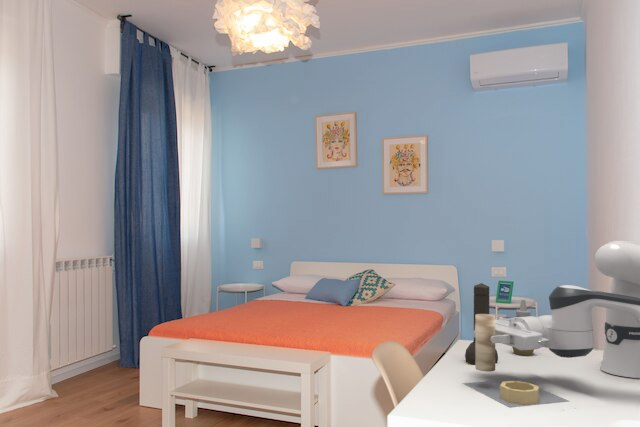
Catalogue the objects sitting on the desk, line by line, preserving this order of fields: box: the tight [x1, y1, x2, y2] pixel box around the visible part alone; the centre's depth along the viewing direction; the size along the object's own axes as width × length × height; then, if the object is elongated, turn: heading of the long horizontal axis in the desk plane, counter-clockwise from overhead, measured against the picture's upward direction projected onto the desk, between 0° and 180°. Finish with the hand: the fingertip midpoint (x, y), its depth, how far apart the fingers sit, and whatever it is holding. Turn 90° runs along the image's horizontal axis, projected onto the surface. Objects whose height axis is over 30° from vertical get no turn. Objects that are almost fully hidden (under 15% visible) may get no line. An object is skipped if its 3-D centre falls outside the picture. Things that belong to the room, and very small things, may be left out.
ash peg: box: [474, 313, 496, 373], centre depth 143 cm, size 5×5×14 cm
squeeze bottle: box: [511, 299, 535, 356], centre depth 184 cm, size 8×8×18 cm
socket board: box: [462, 378, 569, 408], centre depth 138 cm, size 17×20×4 cm
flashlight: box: [464, 282, 499, 366], centre depth 172 cm, size 10×25×10 cm
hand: (482, 336), depth 143 cm, fingers closed on ash peg, 5 cm apart
